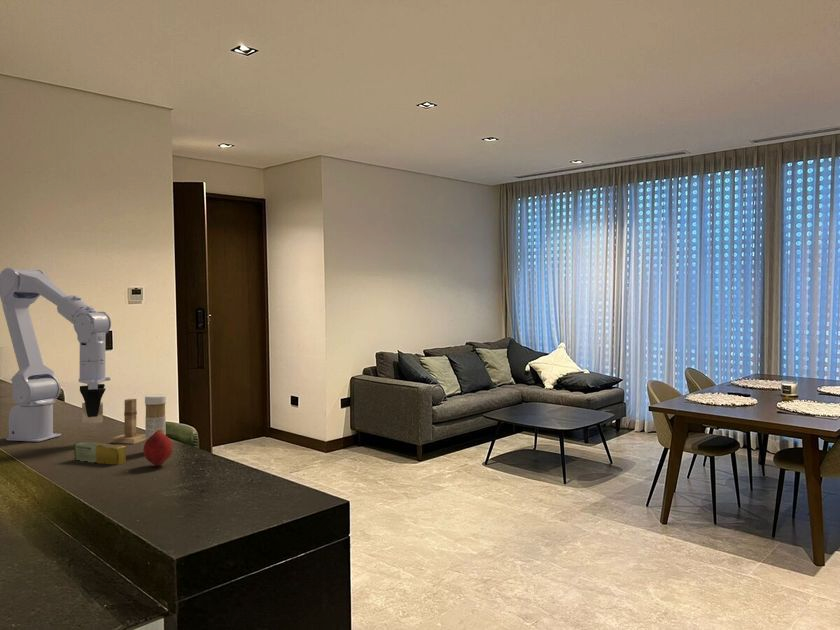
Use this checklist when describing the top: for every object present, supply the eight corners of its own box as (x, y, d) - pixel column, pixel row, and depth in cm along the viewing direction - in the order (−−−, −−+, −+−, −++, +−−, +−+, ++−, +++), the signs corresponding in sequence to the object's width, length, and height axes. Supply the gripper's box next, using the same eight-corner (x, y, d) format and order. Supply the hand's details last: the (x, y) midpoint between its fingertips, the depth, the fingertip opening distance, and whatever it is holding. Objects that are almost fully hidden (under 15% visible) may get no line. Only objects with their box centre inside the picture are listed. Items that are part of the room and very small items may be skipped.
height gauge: (112, 442, 158) (112, 400, 158) (126, 437, 164) (126, 397, 164) (134, 443, 157) (134, 401, 157) (148, 438, 163) (148, 398, 163)
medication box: (73, 461, 140) (72, 443, 139) (82, 458, 142) (82, 441, 142) (117, 466, 136) (117, 447, 136) (127, 463, 139) (126, 445, 139)
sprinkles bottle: (162, 448, 152) (162, 393, 152) (168, 452, 148) (168, 395, 148) (142, 451, 149) (142, 394, 149) (148, 455, 145) (148, 397, 145)
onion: (161, 470, 132) (162, 432, 132) (137, 468, 133) (137, 431, 133) (178, 463, 138) (178, 427, 138) (154, 462, 139) (154, 426, 139)
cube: (82, 420, 157) (82, 402, 157) (102, 419, 159) (102, 401, 159) (82, 423, 153) (82, 405, 153) (102, 422, 155) (102, 404, 155)
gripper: (111, 362, 152) (111, 418, 152) (109, 357, 164) (109, 409, 165) (78, 363, 148) (78, 420, 148) (78, 358, 161) (78, 411, 161)
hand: (92, 415), depth 156 cm, fingers closed on cube, 4 cm apart
